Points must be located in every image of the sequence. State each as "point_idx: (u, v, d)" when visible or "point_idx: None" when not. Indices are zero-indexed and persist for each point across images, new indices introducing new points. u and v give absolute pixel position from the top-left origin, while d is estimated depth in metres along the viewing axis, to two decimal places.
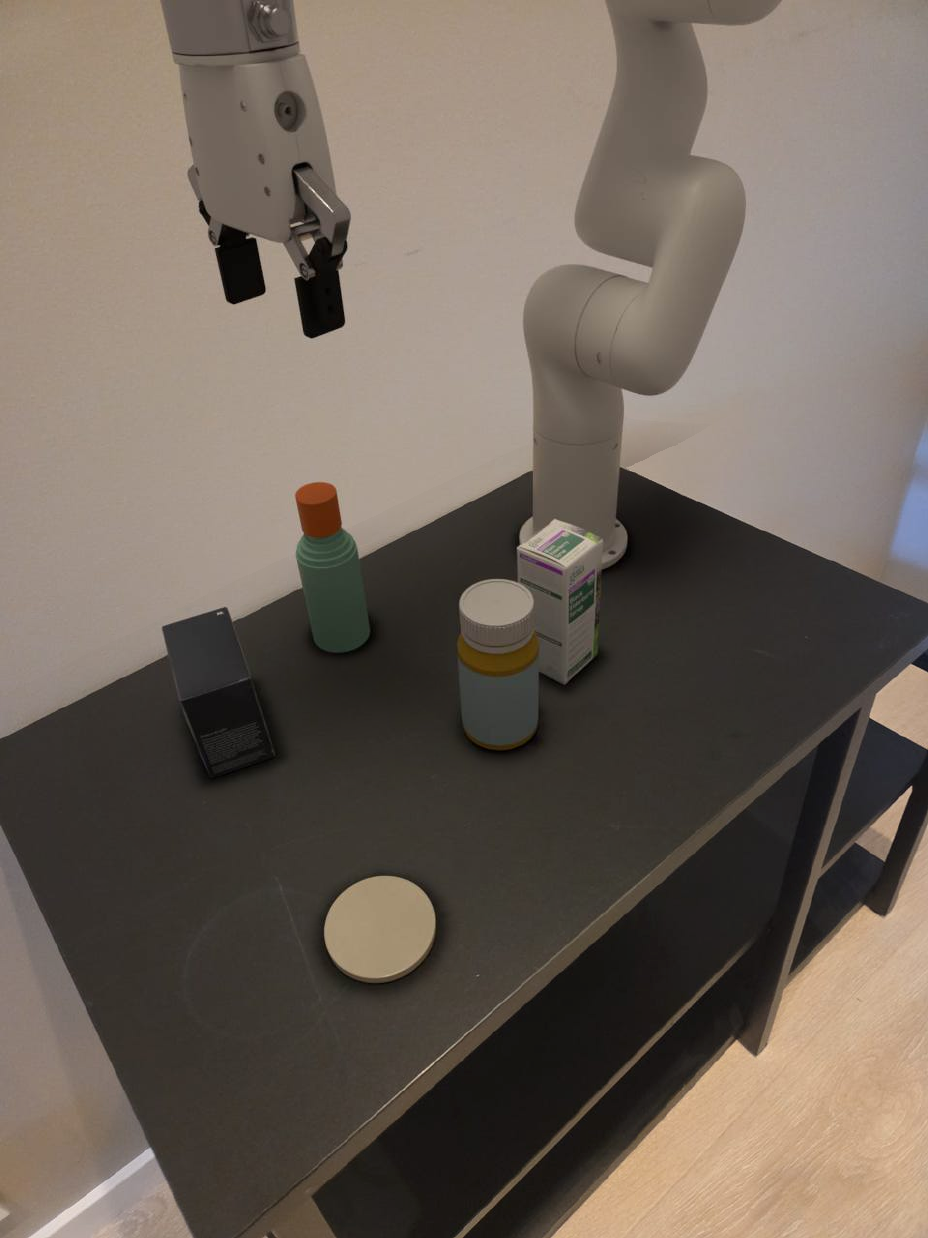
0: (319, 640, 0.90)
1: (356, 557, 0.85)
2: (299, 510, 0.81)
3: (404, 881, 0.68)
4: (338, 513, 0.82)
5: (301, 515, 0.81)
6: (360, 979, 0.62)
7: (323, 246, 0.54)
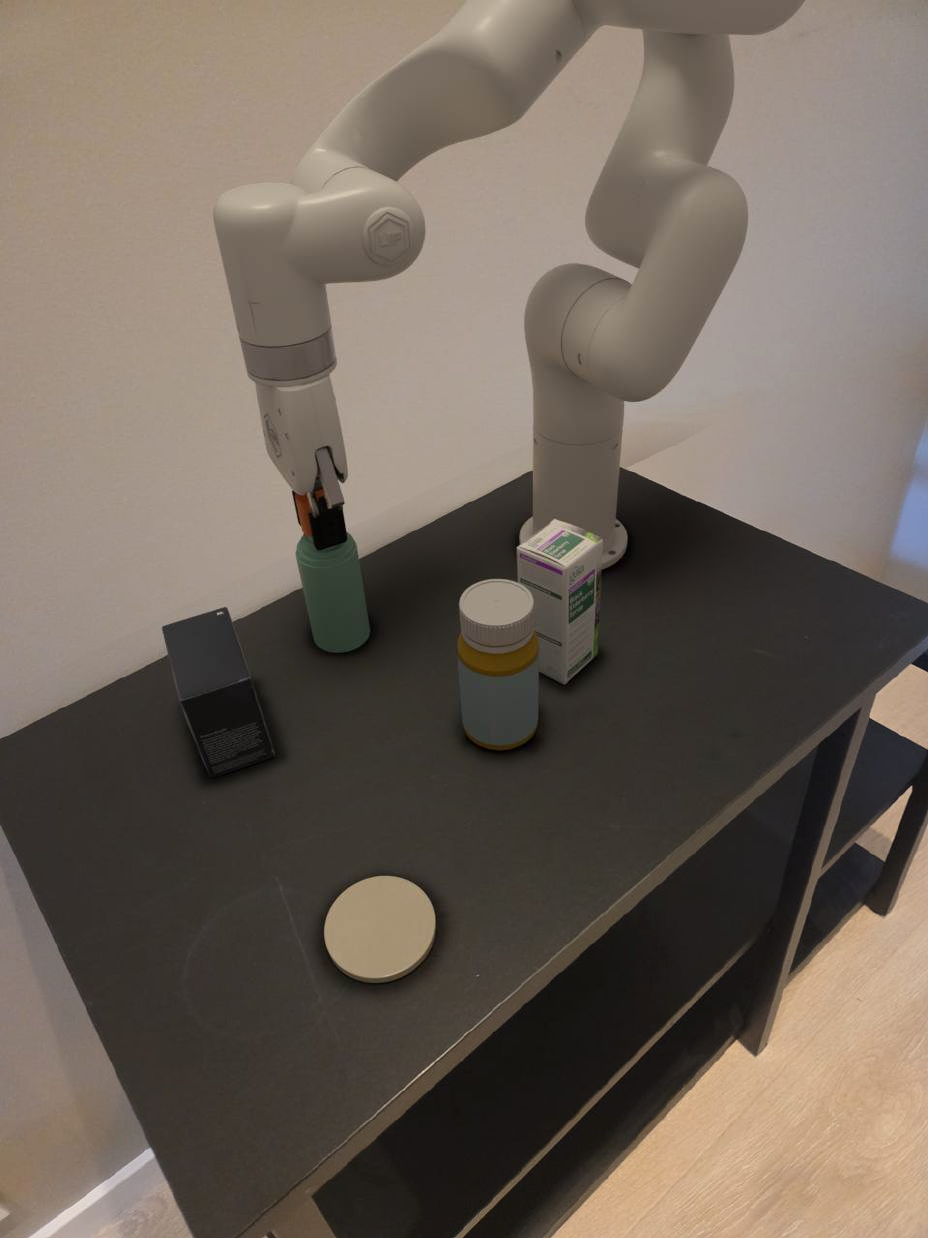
0: (319, 640, 0.90)
1: (356, 557, 0.85)
2: (299, 510, 0.81)
3: (404, 881, 0.68)
4: None
5: (301, 515, 0.81)
6: (360, 979, 0.62)
7: None
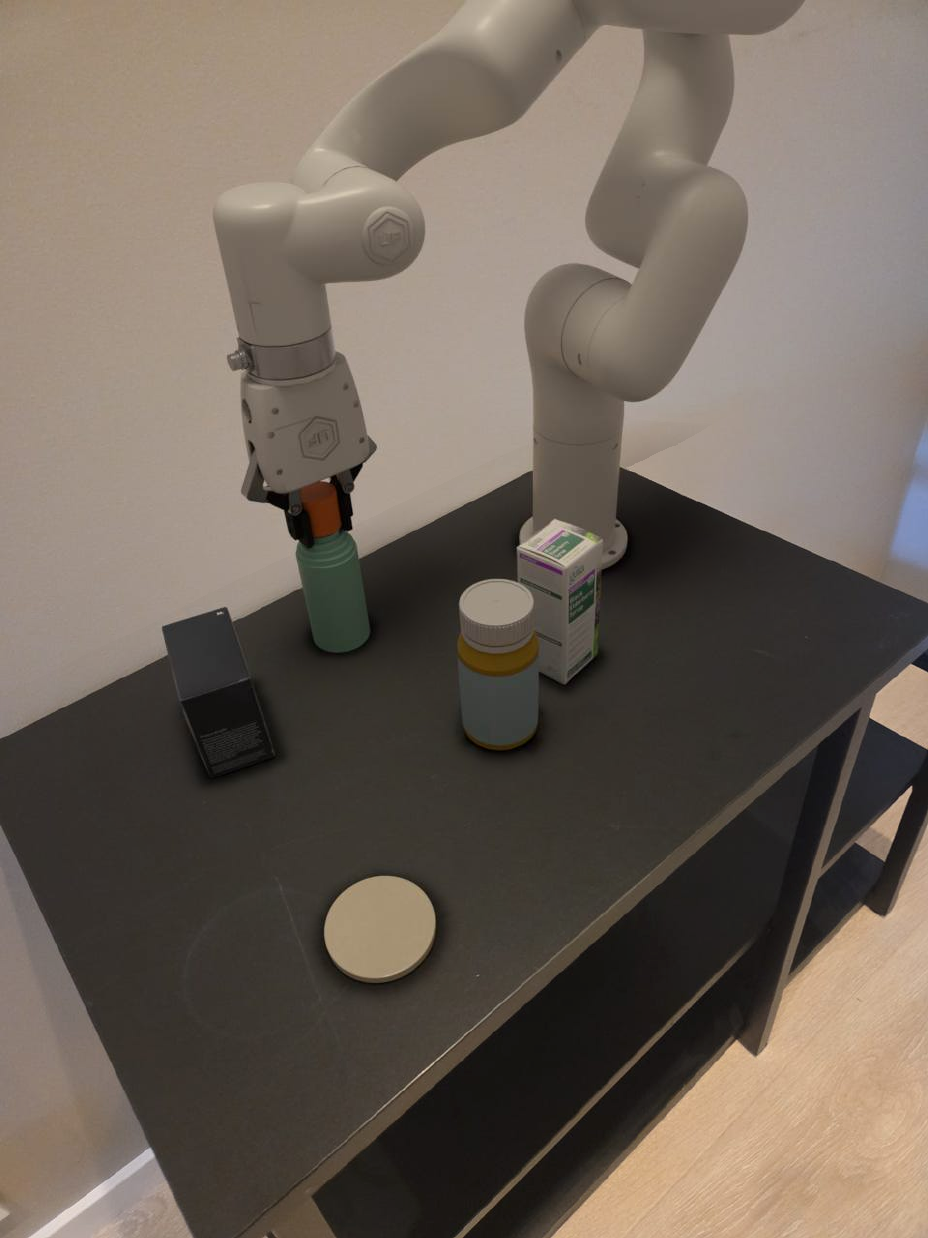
0: (319, 640, 0.90)
1: (356, 557, 0.85)
2: (329, 509, 0.80)
3: (404, 881, 0.68)
4: None
5: (332, 512, 0.81)
6: (360, 979, 0.62)
7: None
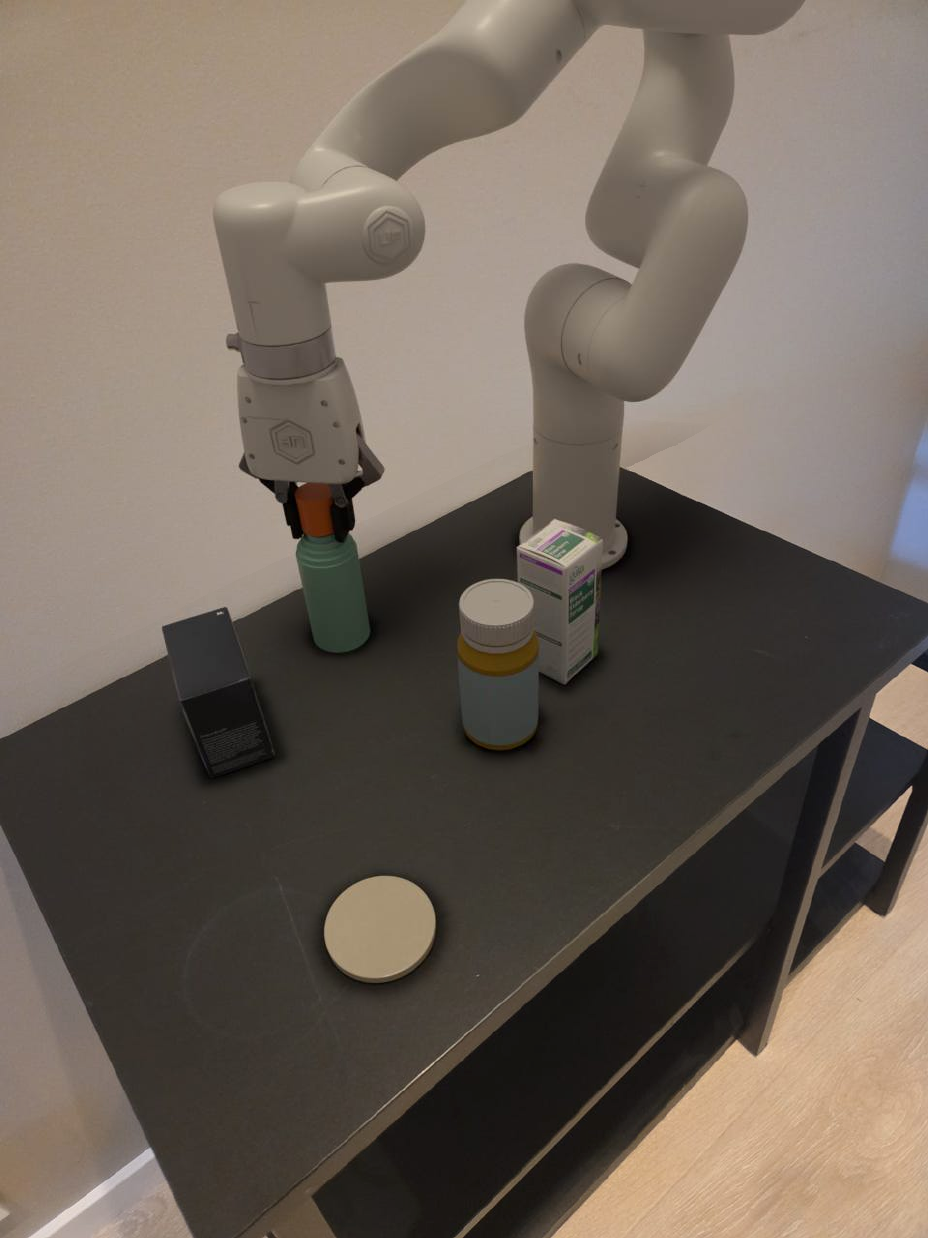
0: (319, 640, 0.90)
1: (356, 557, 0.85)
2: None
3: (404, 881, 0.68)
4: None
5: None
6: (360, 979, 0.62)
7: None
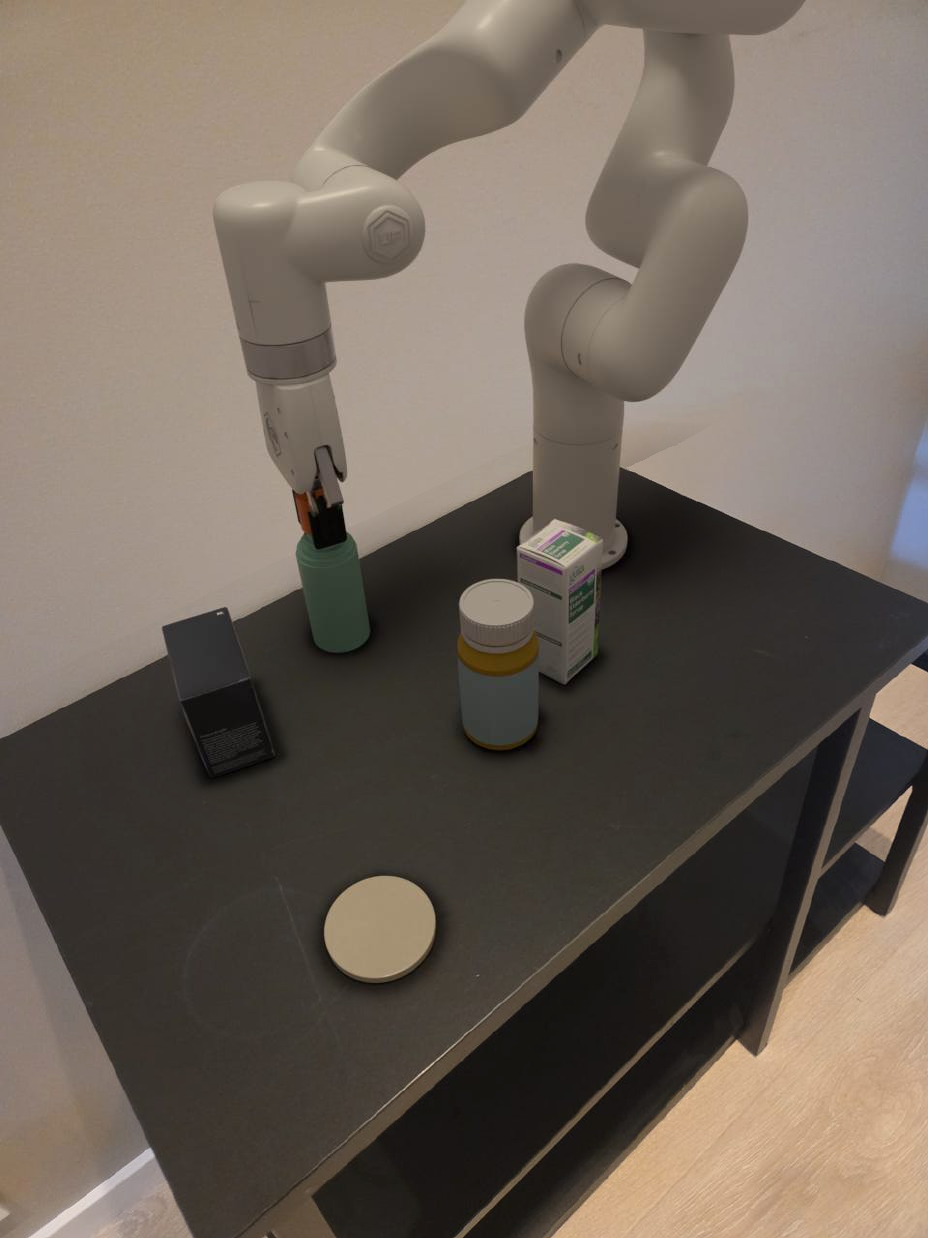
0: (319, 640, 0.90)
1: (356, 557, 0.85)
2: None
3: (404, 881, 0.68)
4: None
5: None
6: (360, 979, 0.62)
7: None
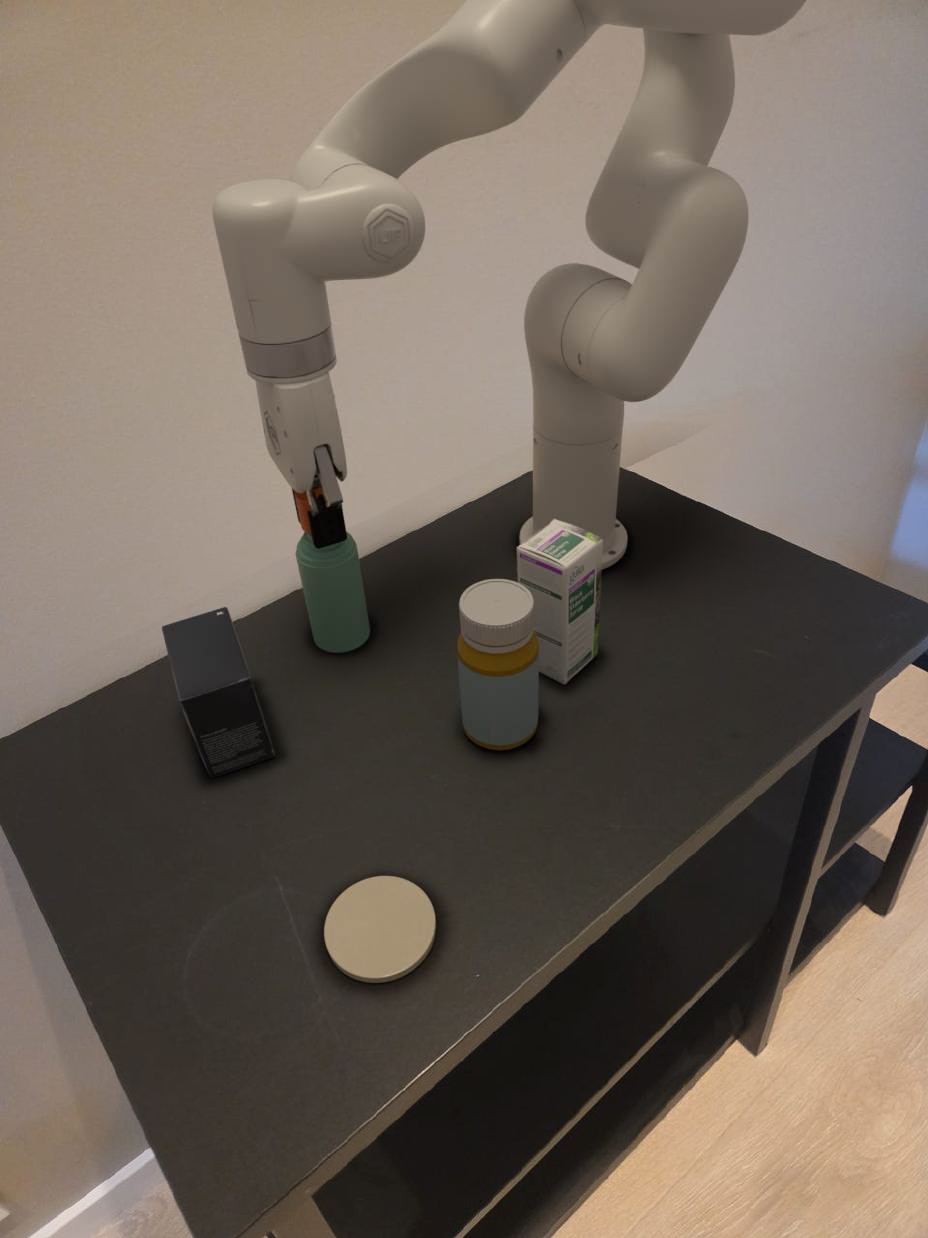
0: (319, 640, 0.90)
1: (356, 557, 0.85)
2: None
3: (404, 881, 0.68)
4: None
5: None
6: (360, 979, 0.62)
7: None
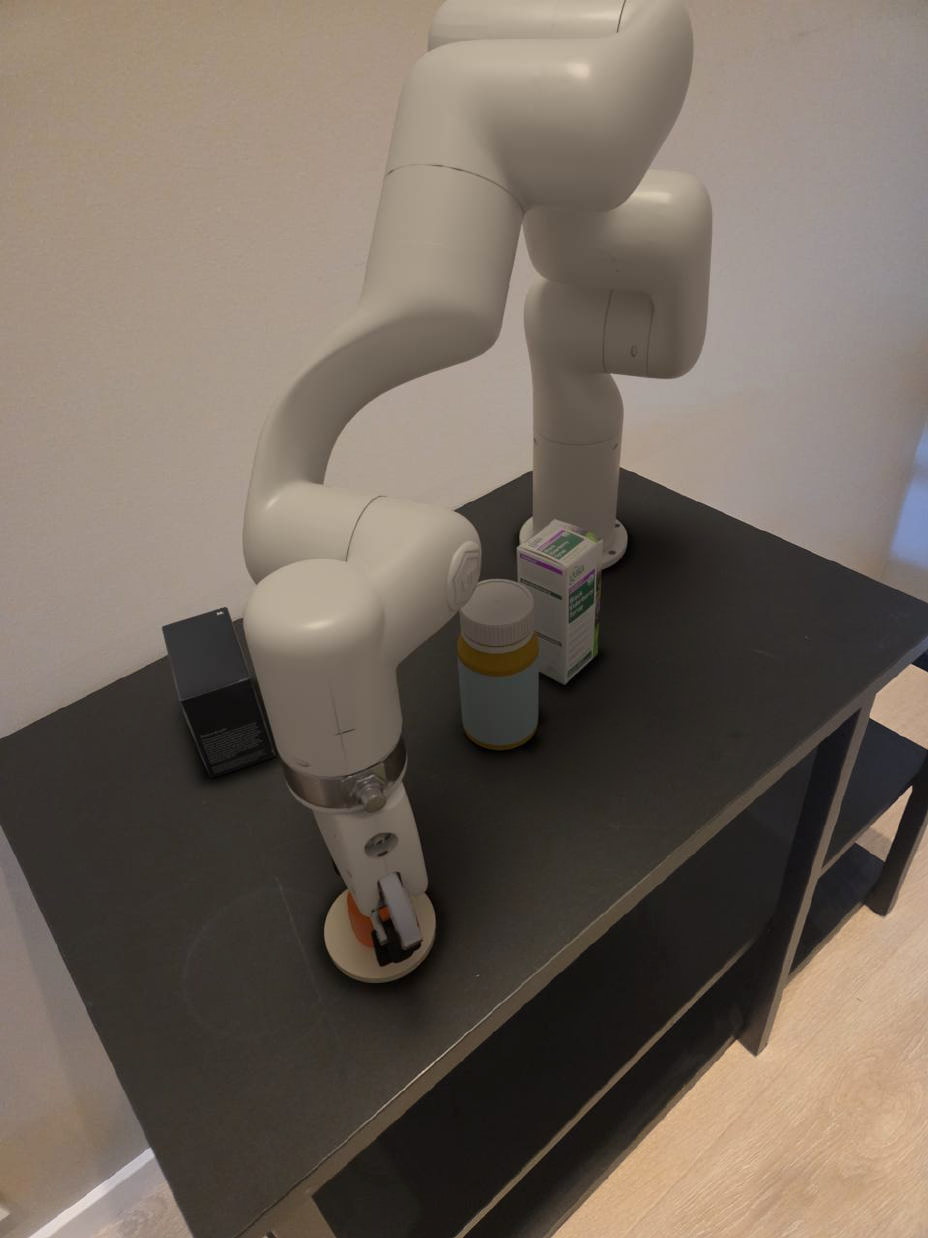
0: None
1: None
2: None
3: None
4: None
5: None
6: (360, 979, 0.62)
7: (394, 943, 0.55)
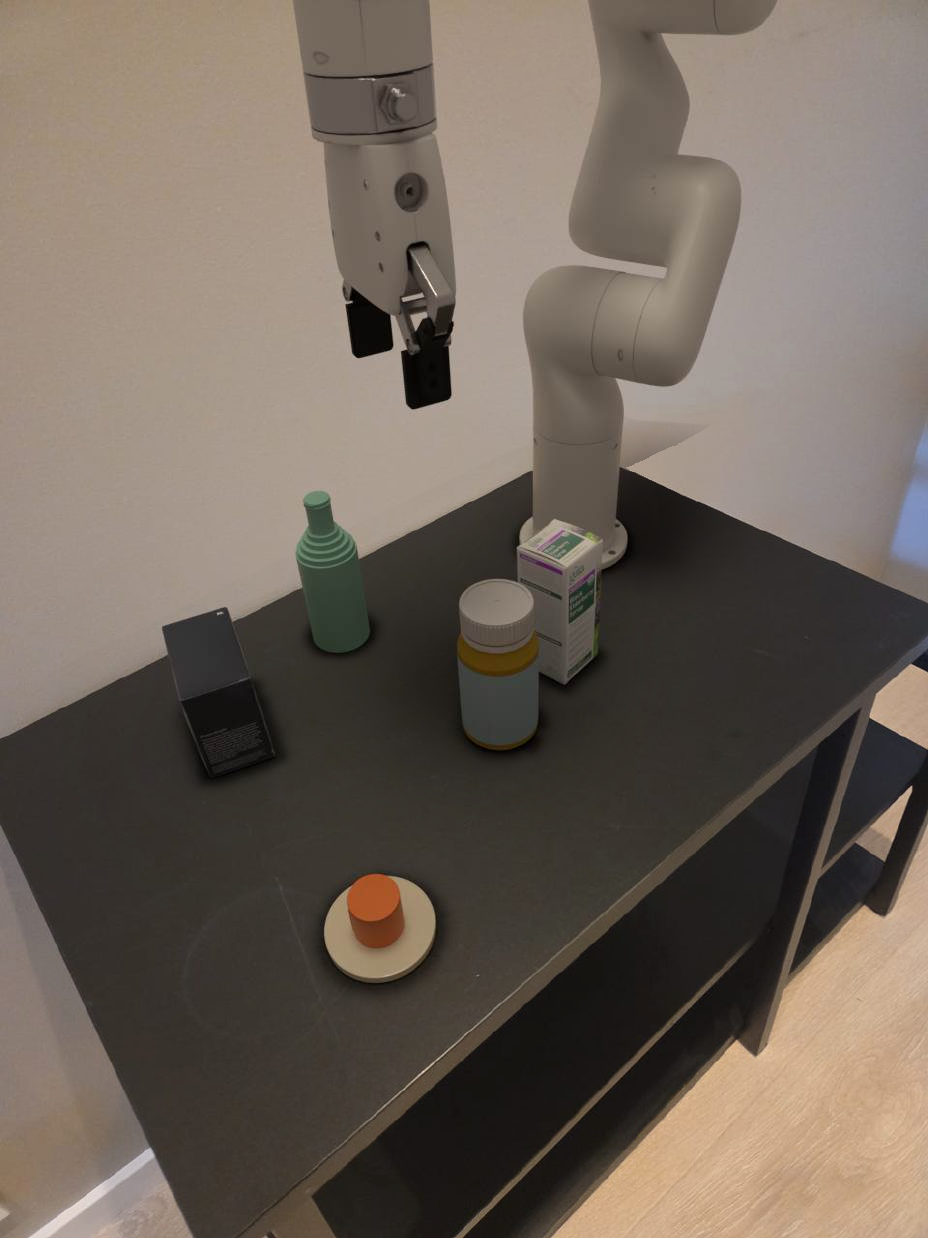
0: (318, 640, 0.90)
1: (356, 557, 0.85)
2: (398, 915, 0.63)
3: (404, 881, 0.68)
4: None
5: (400, 915, 0.63)
6: (360, 979, 0.62)
7: (426, 327, 0.53)
